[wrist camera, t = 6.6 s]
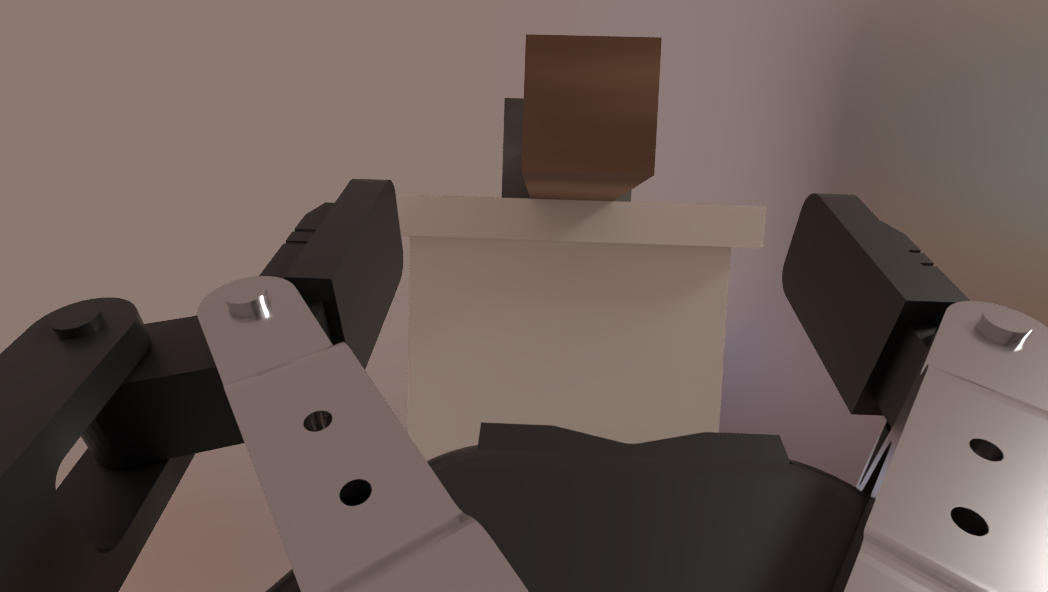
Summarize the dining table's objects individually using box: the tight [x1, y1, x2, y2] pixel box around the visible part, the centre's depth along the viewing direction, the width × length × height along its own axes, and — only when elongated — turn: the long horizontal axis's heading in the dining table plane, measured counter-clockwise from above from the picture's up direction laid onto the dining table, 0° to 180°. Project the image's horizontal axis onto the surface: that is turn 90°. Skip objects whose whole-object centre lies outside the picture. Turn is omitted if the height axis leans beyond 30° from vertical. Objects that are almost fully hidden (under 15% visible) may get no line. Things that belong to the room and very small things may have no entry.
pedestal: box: [396, 194, 766, 461], centre depth 28 cm, size 14×10×32 cm
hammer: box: [502, 35, 661, 202], centre depth 22 cm, size 18×6×5 cm, turn 178°
